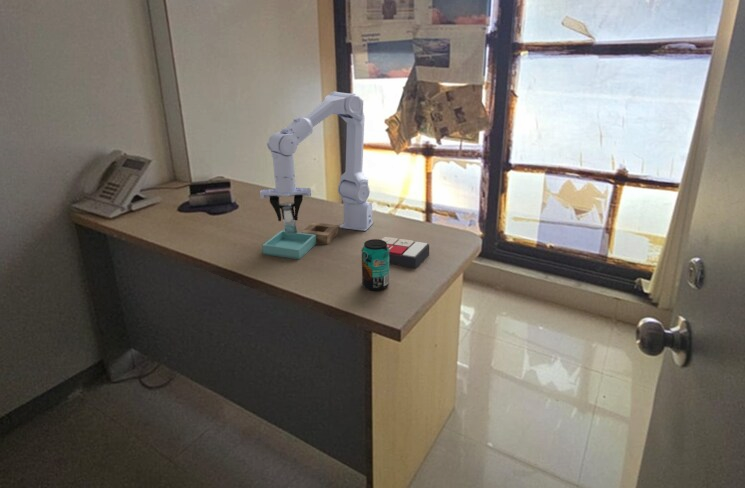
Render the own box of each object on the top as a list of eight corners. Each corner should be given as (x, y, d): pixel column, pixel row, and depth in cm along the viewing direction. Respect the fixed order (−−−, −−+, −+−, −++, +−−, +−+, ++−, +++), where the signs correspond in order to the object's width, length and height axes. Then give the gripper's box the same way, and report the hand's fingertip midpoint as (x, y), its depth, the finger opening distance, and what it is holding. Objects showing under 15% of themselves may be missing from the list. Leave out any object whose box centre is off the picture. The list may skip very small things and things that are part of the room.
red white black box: (384, 235, 149) (429, 241, 143) (384, 247, 151) (429, 254, 144) (367, 248, 140) (415, 255, 134) (368, 261, 142) (415, 269, 136)
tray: (316, 243, 152) (316, 234, 151) (299, 259, 141) (298, 250, 140) (282, 238, 155) (281, 230, 154) (263, 254, 145) (262, 244, 144)
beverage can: (361, 279, 130) (361, 238, 125) (387, 278, 130) (388, 237, 125) (362, 292, 124) (362, 249, 119) (390, 291, 124) (390, 249, 119)
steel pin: (300, 230, 148) (297, 202, 144) (294, 236, 144) (289, 207, 140) (288, 228, 149) (284, 201, 145) (281, 234, 145) (276, 206, 142)
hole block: (338, 233, 159) (338, 225, 158) (327, 244, 151) (327, 235, 150) (313, 230, 162) (312, 222, 160) (301, 240, 154) (300, 232, 153)
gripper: (257, 180, 135) (262, 225, 140) (309, 178, 136) (312, 223, 142) (259, 173, 141) (264, 217, 146) (310, 171, 142) (312, 214, 148)
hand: (288, 219), depth 144 cm, fingers closed on steel pin, 4 cm apart
